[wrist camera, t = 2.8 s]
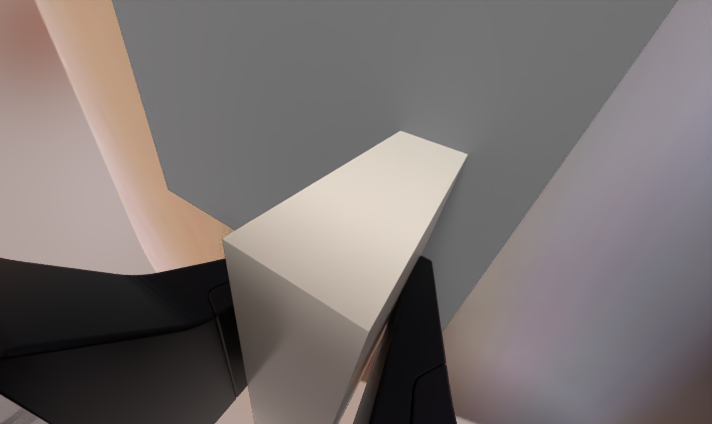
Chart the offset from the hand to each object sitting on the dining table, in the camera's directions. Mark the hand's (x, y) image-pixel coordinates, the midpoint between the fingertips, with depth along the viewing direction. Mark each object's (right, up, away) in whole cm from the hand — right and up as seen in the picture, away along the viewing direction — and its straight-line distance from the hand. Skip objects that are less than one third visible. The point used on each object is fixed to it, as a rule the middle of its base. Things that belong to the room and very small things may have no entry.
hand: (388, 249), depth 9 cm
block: (0, 0, +1) cm, 1 cm away
